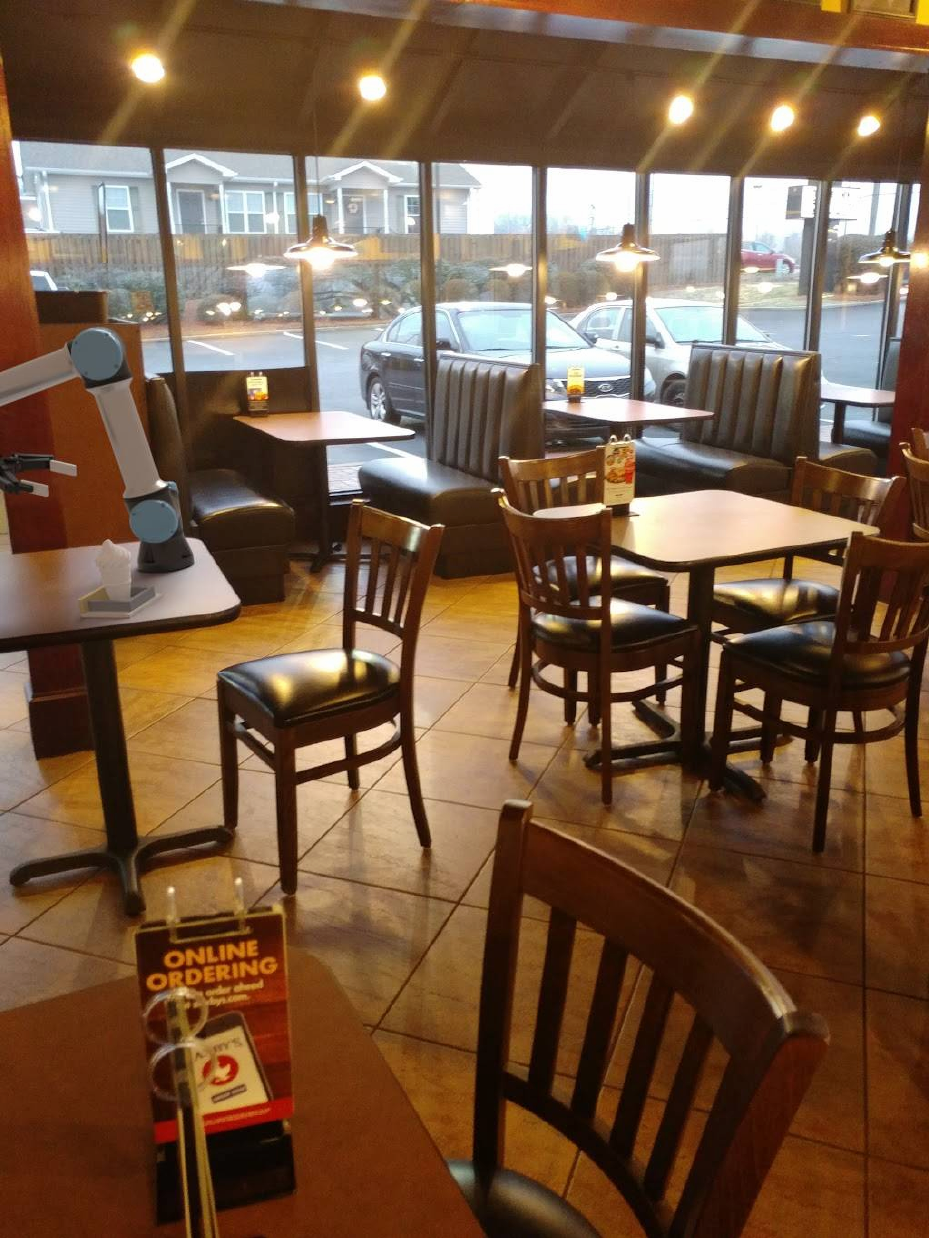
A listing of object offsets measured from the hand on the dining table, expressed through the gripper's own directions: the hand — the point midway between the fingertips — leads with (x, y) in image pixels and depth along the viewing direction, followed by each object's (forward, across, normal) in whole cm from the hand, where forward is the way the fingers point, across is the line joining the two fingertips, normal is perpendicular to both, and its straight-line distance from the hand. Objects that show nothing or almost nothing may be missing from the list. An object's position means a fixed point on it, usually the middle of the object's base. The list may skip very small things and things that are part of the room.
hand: (62, 481), depth 246 cm
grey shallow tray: (+20, +12, -24) cm, 33 cm away
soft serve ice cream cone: (+20, +11, -23) cm, 33 cm away
